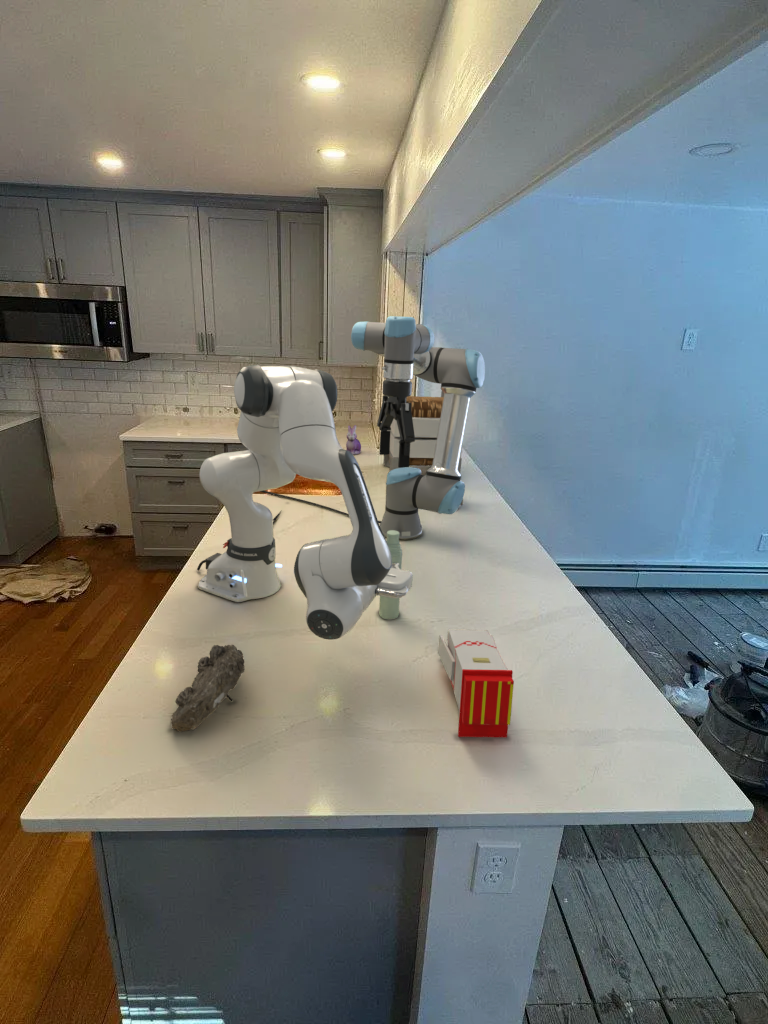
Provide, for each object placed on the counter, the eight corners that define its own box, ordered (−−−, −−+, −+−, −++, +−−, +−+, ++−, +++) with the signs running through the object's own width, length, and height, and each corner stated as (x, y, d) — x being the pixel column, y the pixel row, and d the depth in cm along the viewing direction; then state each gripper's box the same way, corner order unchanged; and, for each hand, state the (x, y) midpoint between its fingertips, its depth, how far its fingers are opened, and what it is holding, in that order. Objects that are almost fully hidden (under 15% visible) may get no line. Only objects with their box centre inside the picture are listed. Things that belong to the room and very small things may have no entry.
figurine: (349, 455, 300) (349, 427, 295) (341, 451, 309) (341, 424, 304) (365, 454, 305) (365, 426, 299) (357, 450, 313) (357, 423, 308)
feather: (288, 505, 226) (290, 501, 226) (271, 529, 199) (273, 524, 199) (284, 503, 226) (287, 499, 225) (266, 526, 199) (269, 522, 199)
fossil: (195, 646, 122) (244, 615, 117) (225, 676, 125) (275, 646, 120) (147, 725, 102) (204, 691, 98) (185, 758, 105) (242, 726, 100)
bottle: (389, 621, 144) (393, 538, 136) (374, 614, 147) (378, 531, 139) (402, 614, 147) (407, 532, 139) (388, 607, 151) (392, 527, 143)
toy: (488, 613, 130) (523, 677, 101) (484, 667, 133) (517, 744, 104) (435, 612, 130) (455, 676, 101) (432, 666, 133) (451, 743, 103)
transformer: (382, 463, 289) (386, 382, 275) (445, 464, 293) (451, 384, 279) (390, 482, 257) (394, 392, 243) (460, 483, 261) (468, 394, 247)
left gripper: (404, 583, 113) (421, 557, 125) (310, 566, 118) (335, 542, 131) (402, 611, 115) (419, 582, 127) (310, 593, 120) (335, 567, 133)
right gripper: (367, 374, 155) (364, 450, 162) (403, 386, 133) (398, 473, 140) (392, 374, 157) (389, 448, 164) (432, 386, 136) (426, 472, 143)
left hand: (376, 562), depth 129 cm, fingers open, 8 cm apart
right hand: (393, 460), depth 152 cm, fingers open, 13 cm apart
